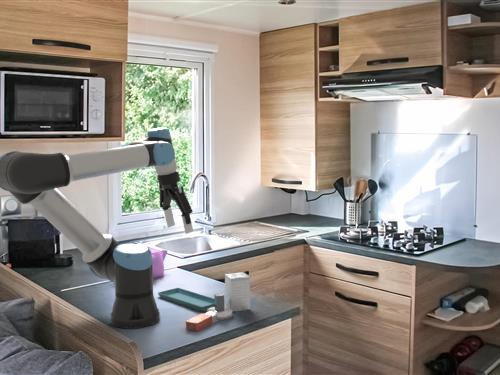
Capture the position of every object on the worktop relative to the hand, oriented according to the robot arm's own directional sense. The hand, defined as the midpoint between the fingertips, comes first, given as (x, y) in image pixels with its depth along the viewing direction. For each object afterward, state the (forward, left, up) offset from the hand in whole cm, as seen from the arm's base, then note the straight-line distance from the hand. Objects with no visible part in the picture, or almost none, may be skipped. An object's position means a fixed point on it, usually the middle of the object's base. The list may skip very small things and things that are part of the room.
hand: (180, 229), depth 209 cm
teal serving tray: (-6, -7, -24) cm, 26 cm away
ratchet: (-19, -25, -24) cm, 40 cm away
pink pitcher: (+14, +31, -24) cm, 41 cm away
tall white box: (-4, -26, -24) cm, 35 cm away
